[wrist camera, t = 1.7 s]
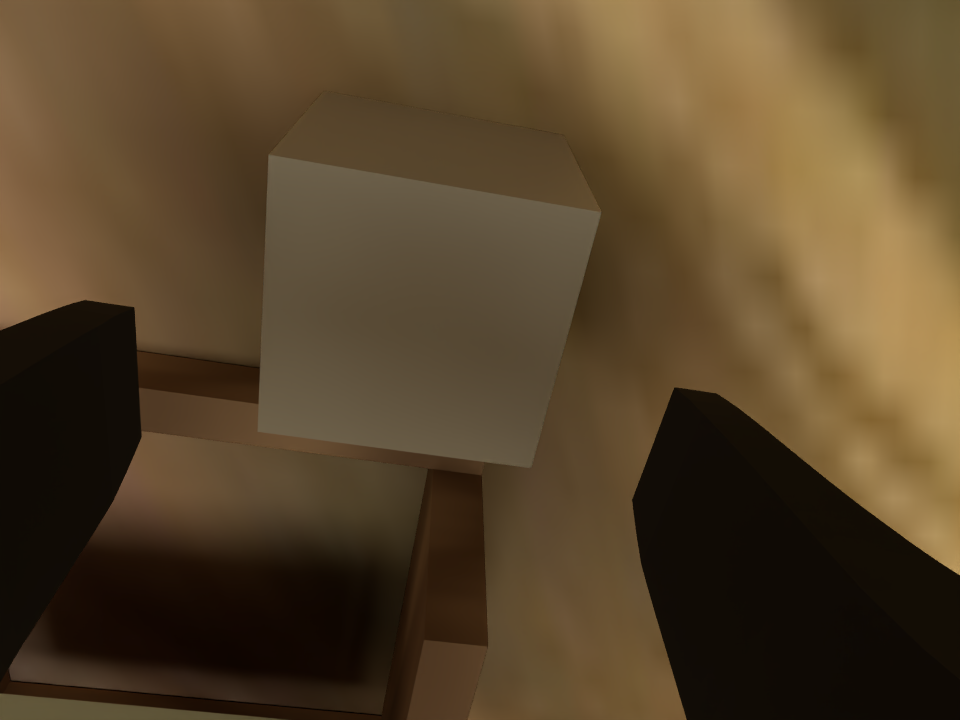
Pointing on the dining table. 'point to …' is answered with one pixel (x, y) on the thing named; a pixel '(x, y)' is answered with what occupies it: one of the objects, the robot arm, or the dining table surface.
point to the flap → (97, 711)
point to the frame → (433, 569)
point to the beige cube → (419, 279)
